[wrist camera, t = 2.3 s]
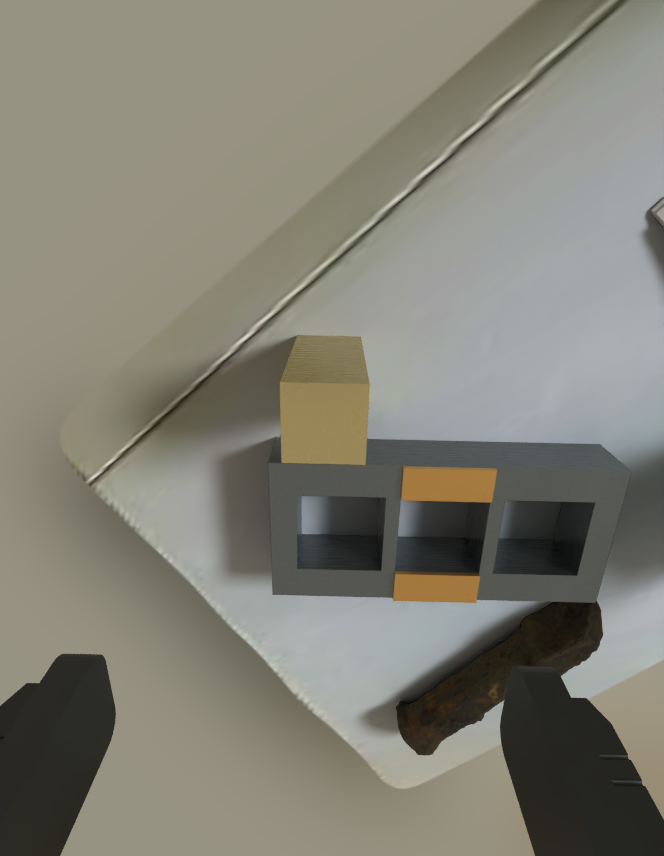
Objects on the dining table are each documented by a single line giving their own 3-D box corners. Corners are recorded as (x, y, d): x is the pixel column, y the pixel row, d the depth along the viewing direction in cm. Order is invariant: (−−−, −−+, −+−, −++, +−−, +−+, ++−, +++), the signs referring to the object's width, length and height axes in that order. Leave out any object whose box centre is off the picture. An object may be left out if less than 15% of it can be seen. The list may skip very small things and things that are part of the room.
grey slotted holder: (276, 437, 34) (267, 465, 30) (599, 444, 34) (634, 473, 30) (279, 558, 38) (272, 597, 34) (570, 565, 38) (597, 605, 34)
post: (297, 335, 32) (279, 381, 22) (360, 336, 32) (369, 384, 22) (297, 395, 33) (281, 462, 24) (358, 397, 33) (365, 464, 24)
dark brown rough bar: (421, 722, 45) (430, 775, 41) (391, 699, 44) (397, 751, 40) (604, 606, 40) (637, 653, 35) (576, 576, 39) (605, 621, 34)
